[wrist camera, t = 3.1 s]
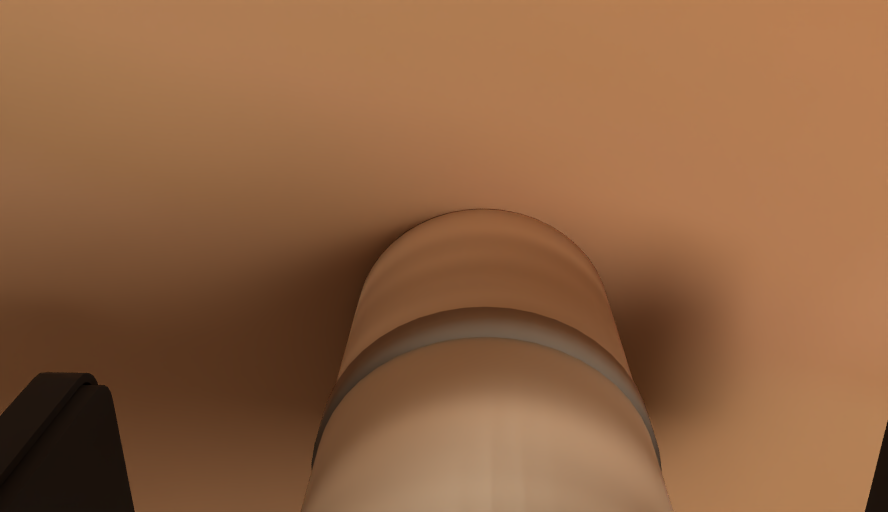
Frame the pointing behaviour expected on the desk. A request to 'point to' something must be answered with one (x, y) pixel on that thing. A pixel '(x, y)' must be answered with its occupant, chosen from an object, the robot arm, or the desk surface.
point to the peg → (485, 382)
